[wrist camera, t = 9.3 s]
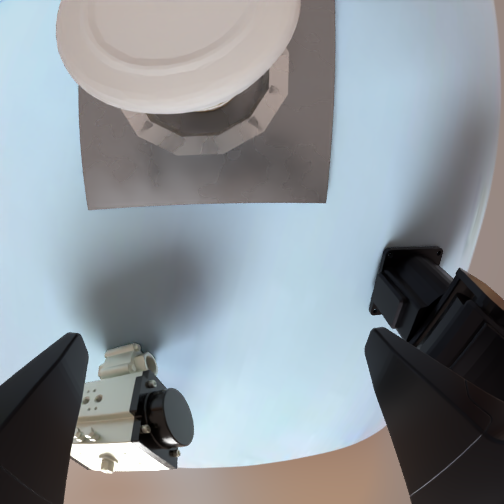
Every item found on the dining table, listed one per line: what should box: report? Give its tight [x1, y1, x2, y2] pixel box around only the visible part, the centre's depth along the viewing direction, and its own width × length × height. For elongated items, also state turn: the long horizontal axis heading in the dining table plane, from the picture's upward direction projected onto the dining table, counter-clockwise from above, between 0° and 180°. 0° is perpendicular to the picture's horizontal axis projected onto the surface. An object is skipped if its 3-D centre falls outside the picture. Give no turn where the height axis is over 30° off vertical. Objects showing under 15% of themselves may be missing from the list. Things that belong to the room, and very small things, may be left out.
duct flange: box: [79, 0, 335, 210], centre depth 14 cm, size 16×16×3 cm
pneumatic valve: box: [70, 343, 194, 473], centre depth 20 cm, size 6×12×12 cm, turn 109°
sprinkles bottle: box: [56, 0, 301, 114], centre depth 9 cm, size 5×5×14 cm
